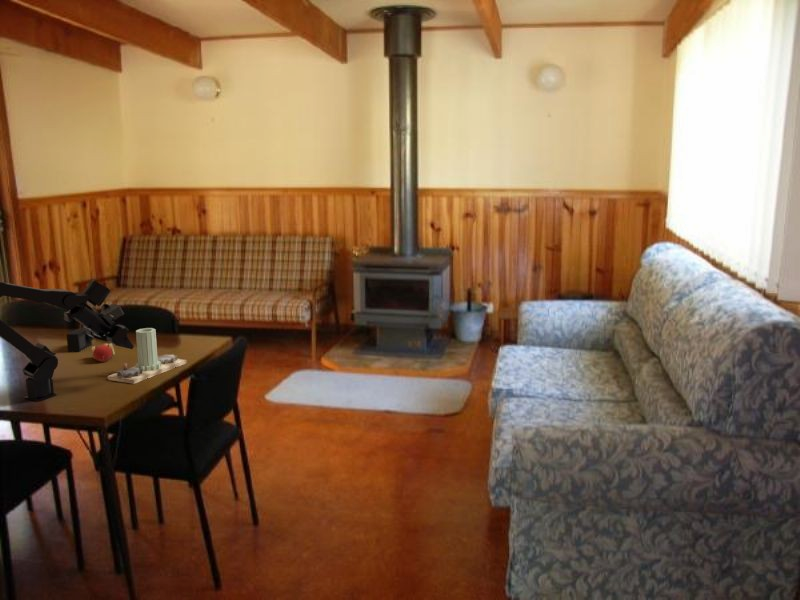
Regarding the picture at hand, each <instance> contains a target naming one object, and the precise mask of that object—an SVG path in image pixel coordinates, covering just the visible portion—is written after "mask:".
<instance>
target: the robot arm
mask: <svg viewBox="0 0 800 600" xmlns="http://www.w3.org/2000/svg"><path fill="white" fill-rule="evenodd" d="M111 293H112V291H111V289H110V288H108V287H107V286H105V285H103V284H101V283H100V282H98V281H96V280H95V279H91V280H90V282H89V283H88V285H87V286H86V287H85V289H83V291H82V292H78V291H76V292H74V291H71V290H69V289H68V290H67V289H64V288H47V289H46V288H45V289H41V288H37V287H32V286H31V287H30V286H25V285H19V284H13V283H8V282H4V281H0V298H2V297H8V298H16V299H20V300H28V301H34V302H40V303H43V304H47V305H50V306H53V307H55V308H59V309H62V310H65V311H64V312H63V315H64V317H63V320H64V321H66V322H68V323H71V322H72V321H73V320H75V321H76V322H78V323H79V324H81V325H82V328H86V334H88V335H89V336H91V337H93V339H96V340H100V341H103V342H107V343H109V344H113V346H117V347H121V348H125V349H129V350H133V349H134V348H135V347H134V344H133V343H132V341H131V340H130V339H129V337H128V333H129V328H127V326H125V325H123V324H121V323H118V324H115V320H117V319H118V318H120V317H122V316H124V314H125V312H124V311H123V309H122V307H121V306H120V304H117V303H113V304H111V303H110V304H107V303H105V301H106V299H108V297H109V296H110V294H111ZM91 306H92V307H91ZM95 307H100V309H101V311H100V312H99V311H97V310H96V309H94V308H95ZM114 324H115V325H114ZM113 325H114V326H113ZM93 334H94V335H93ZM0 339H1V340H4V342H6V343H7V344H9V345H10V346H11V347H12V348H14V349H15V350H16V351H17V352H19V353H20V354H21V355H22V357H23V358H24V359H25V360H26V361H27V363H26V365H25V366H24V367H23V369H22V370H21V371H22V373H23V375H24V377H27V378H25V384H26V386H25V387H26V393H27V394H26V395H25V396H23V398H24V399H26V400H31V401H36V402H40V401H41V402H42V401H43V400H46V399H49V398H52V397H54V396H57V395H58V393H57V392H55V389H54V380H53V376H54V373H55V370H56V369H57V367H58V365H59V359H58V357H57V356H56V355H57V353H56V352H54V351H51V350H50V349H49V347H48V346H47V345H45V344H42V343H40V342H37V343H36V344H33V343H32V342H30V341H29V340H28V339H27V338H25V337H24V336H23V335H21V334H20V333H19V332H17V331H16V330H15V329H13V328H12V327H11V326H9V325H8V324H7V323H5V321H3V320H2V319H0Z"/></svg>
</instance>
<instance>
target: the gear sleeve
mask: <svg viewBox="0 0 800 600" xmlns="http://www.w3.org/2000/svg"><path fill="white" fill-rule="evenodd" d="M156 330H157V329H155V328H153V327H145V328H139V329H136V330H135V335H136V336H135V337H136V349H137V350H136V351H137V362H136V363H135V364H134V366H135V368H136V367H139V369H142V371H145V370H147V371H150V370H157V369H159V368H161V362H160V361H158V358H157V356H158V347H157V346H158V345H157V344H158V343H157V335H156V334H157V332H156Z"/></svg>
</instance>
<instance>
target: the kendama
mask: <svg viewBox="0 0 800 600" xmlns="http://www.w3.org/2000/svg"><path fill="white" fill-rule="evenodd" d="M91 353H92V354H91V355H92V357H93V359H94V360H95V361H98V362H99V363H100V362H101V363H104V362H107V361H109V360H110V359H111V357H112V356H115V354H116V353H115V348H114V345H113V344H111V343H108V342H107V343H103V344H100V345H98V346H96V345H94V346H93V345H92V346H91Z"/></svg>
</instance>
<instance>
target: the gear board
mask: <svg viewBox="0 0 800 600" xmlns="http://www.w3.org/2000/svg"><path fill="white" fill-rule="evenodd" d="M157 358H158V361H160V362H161V368H159V369H157V370H150V371H147V370H145V371H142V369H139V367H136V368H135V365H134V366H132V367H131V366H128V364H127V362H123V364H122V367H123V368H120V369H119V370H117V372H115V373H112V374H110V375H107V380H108V381H115V382H121V383H127V384H133V385H134V384H138V383H140V382H141V381H145V380H147V378H148V379H150V378H152V377H154V376H158V375H161V374H162V373H165V372H168V371H170V370H173V369H175V367H176V368H177V367H181V366H182V365H183V366H184V365H186V364H188V363H187V359H183V358H178V355H175V353H174V354H162V355H157Z"/></svg>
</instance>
